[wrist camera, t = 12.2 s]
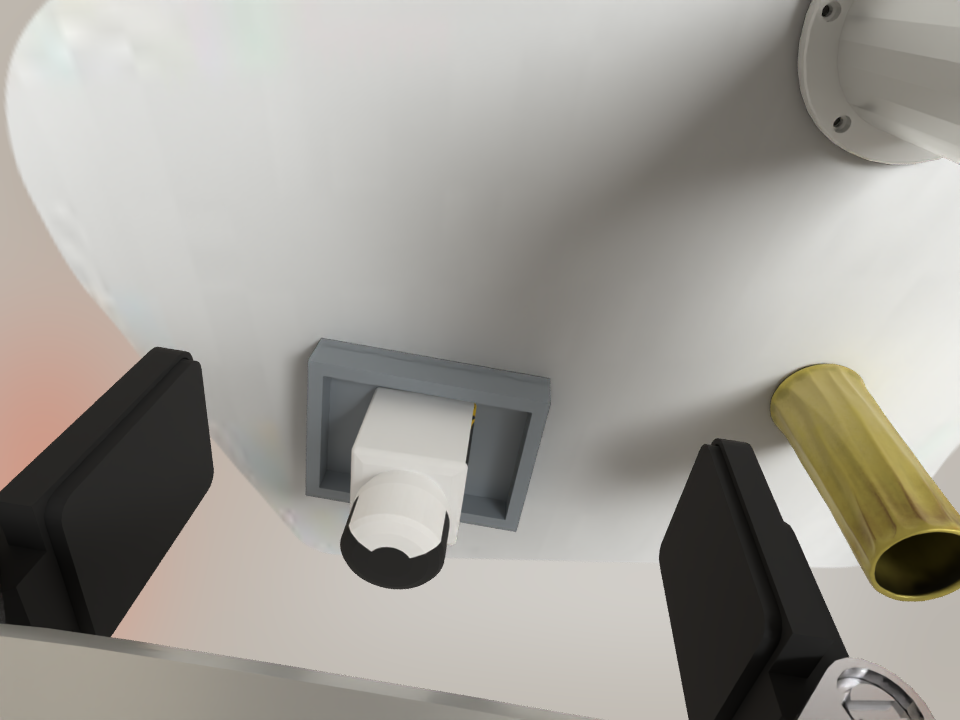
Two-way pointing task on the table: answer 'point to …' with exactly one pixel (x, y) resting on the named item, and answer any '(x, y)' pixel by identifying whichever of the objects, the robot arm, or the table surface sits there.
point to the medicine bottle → (406, 486)
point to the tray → (497, 393)
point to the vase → (871, 483)
